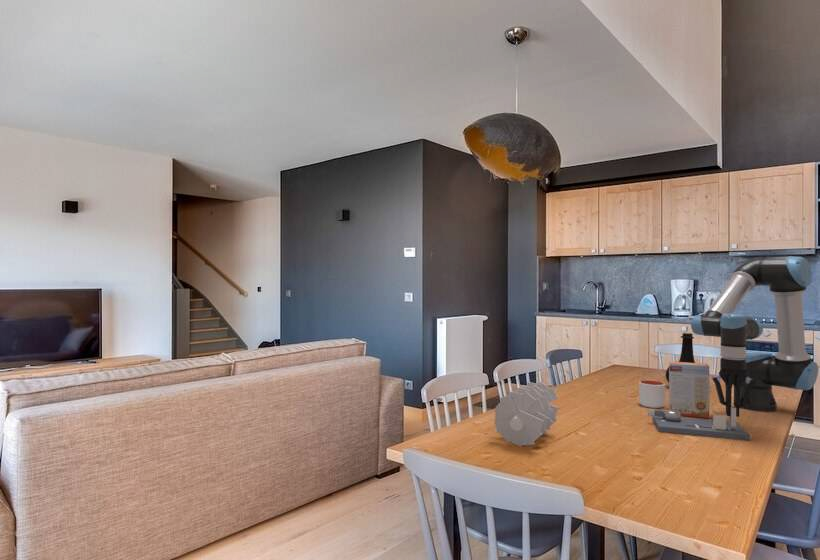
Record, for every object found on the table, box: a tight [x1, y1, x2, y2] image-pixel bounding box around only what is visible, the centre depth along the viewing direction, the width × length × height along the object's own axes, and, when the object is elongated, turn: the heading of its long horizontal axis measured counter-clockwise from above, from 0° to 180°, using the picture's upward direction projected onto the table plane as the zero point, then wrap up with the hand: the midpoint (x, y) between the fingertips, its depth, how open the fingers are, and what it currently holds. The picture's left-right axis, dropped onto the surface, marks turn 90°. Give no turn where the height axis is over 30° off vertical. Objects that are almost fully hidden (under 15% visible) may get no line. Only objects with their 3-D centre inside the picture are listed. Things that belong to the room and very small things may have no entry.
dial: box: [647, 408, 682, 422], centre depth 187 cm, size 11×6×3 cm, turn 72°
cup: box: [638, 379, 666, 409], centre depth 215 cm, size 10×10×10 cm
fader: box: [712, 408, 728, 430], centre depth 176 cm, size 3×4×6 cm
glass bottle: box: [665, 332, 696, 384], centre depth 248 cm, size 18×18×28 cm
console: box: [651, 416, 751, 441], centre depth 181 cm, size 28×16×2 cm, turn 72°
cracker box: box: [668, 361, 710, 419], centre depth 201 cm, size 14×6×21 cm, turn 65°
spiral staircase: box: [493, 381, 559, 448], centre depth 170 cm, size 18×18×25 cm
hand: (732, 425), depth 174 cm, fingers closed
